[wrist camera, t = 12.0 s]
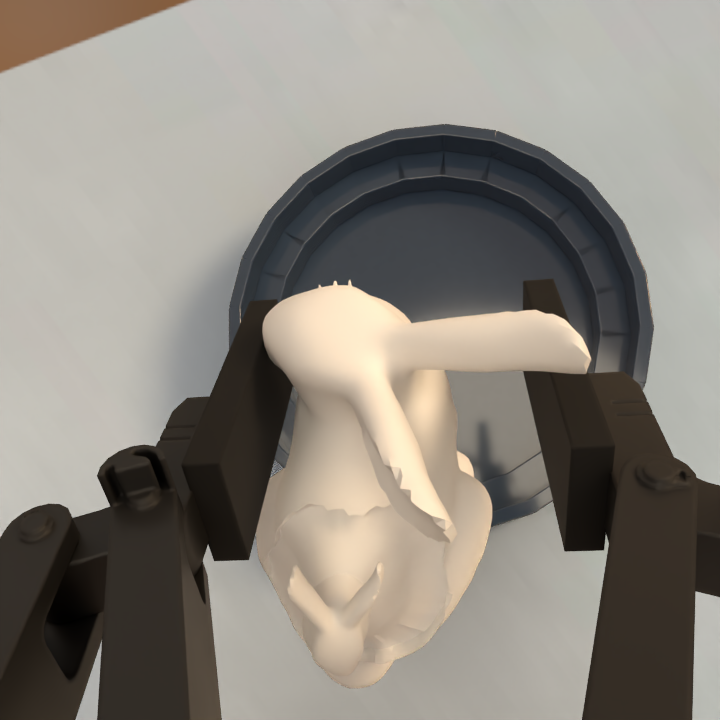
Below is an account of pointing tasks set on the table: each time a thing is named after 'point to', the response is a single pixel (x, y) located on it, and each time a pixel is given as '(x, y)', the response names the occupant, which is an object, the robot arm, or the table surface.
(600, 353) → the bowl
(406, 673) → the table surface
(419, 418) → the rabbit figurine
